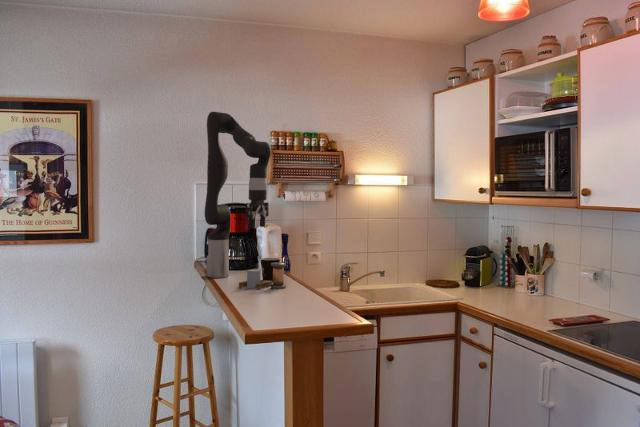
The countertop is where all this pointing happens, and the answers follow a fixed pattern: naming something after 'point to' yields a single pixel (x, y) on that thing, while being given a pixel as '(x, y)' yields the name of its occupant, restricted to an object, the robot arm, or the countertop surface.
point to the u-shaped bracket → (258, 286)
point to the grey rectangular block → (253, 278)
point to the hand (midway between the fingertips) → (256, 227)
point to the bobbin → (278, 275)
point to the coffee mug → (268, 268)
